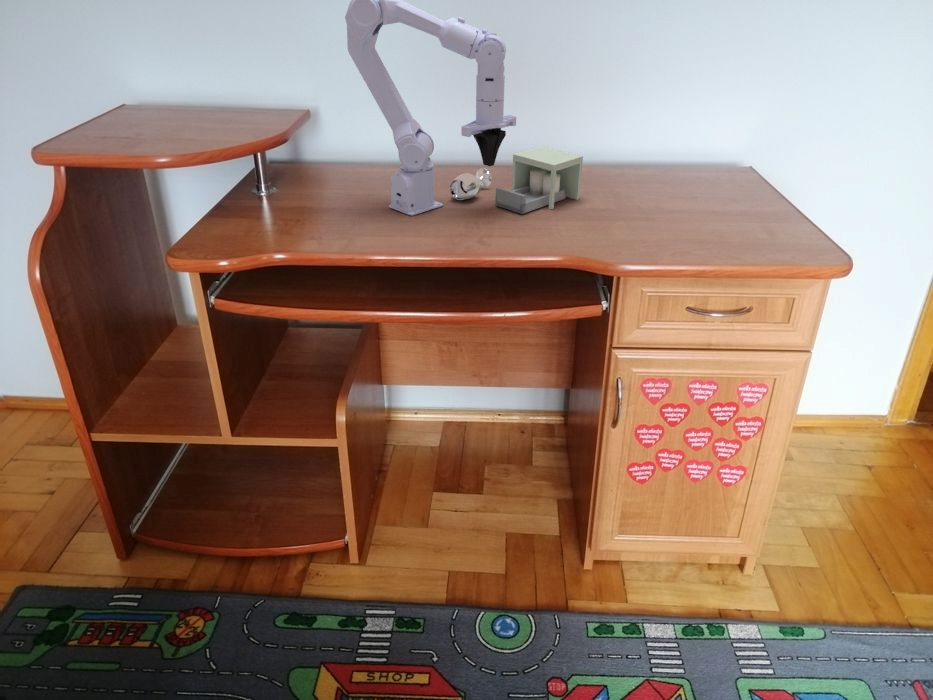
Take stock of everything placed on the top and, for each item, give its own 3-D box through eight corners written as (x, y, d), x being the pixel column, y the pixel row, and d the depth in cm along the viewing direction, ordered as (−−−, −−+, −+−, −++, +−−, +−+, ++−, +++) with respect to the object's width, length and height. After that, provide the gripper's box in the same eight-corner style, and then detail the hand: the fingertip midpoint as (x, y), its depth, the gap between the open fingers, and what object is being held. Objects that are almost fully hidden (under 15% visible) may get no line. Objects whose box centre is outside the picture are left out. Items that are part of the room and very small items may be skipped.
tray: (522, 214, 153) (523, 188, 150) (495, 205, 157) (496, 180, 155) (565, 198, 162) (567, 174, 159) (538, 190, 166) (540, 166, 164)
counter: (551, 209, 156) (554, 165, 151) (511, 196, 163) (513, 154, 158) (579, 199, 162) (582, 156, 157) (539, 187, 169) (541, 146, 164)
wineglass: (488, 194, 169) (463, 207, 160) (469, 181, 170) (444, 193, 161) (498, 174, 165) (473, 185, 156) (478, 160, 166) (453, 171, 157)
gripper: (479, 107, 137) (478, 175, 144) (528, 97, 146) (525, 162, 153) (454, 101, 142) (454, 168, 149) (503, 92, 150) (501, 155, 157)
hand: (488, 164), depth 151 cm, fingers closed
